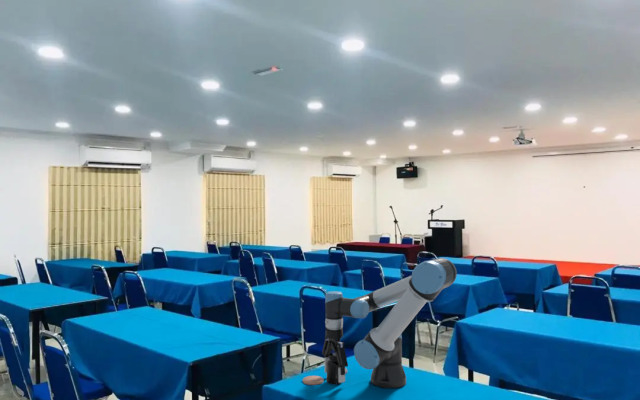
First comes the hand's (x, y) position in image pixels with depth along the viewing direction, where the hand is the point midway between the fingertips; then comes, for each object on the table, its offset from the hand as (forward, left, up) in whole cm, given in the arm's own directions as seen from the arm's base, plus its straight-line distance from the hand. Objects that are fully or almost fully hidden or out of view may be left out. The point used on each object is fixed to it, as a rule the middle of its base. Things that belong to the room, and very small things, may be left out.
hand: (334, 376), depth 211 cm
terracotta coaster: (+5, +8, -2) cm, 10 cm away
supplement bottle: (0, 0, -2) cm, 2 cm away
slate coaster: (+11, -7, -2) cm, 13 cm away
